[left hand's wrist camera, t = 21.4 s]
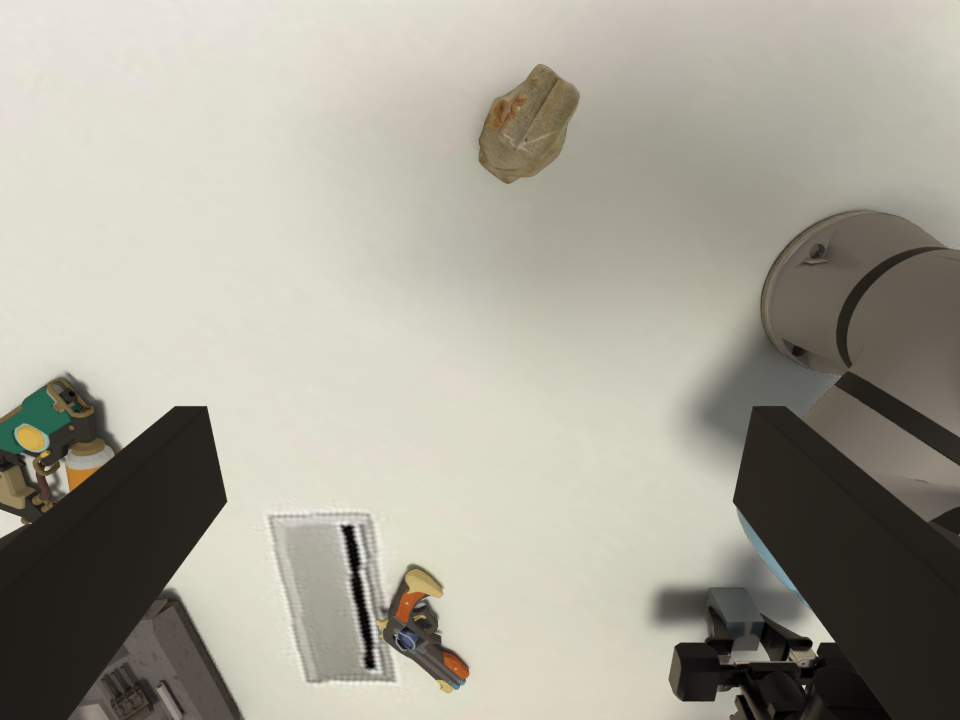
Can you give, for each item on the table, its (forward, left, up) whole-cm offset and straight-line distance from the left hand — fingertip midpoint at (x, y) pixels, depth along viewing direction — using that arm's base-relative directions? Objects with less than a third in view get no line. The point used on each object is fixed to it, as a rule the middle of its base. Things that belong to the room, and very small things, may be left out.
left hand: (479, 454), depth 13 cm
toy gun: (+8, +48, -38) cm, 62 cm away
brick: (-28, +46, -38) cm, 66 cm away
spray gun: (+48, +20, -38) cm, 64 cm away
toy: (+48, +54, -38) cm, 81 cm away
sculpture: (-4, -8, -38) cm, 39 cm away
